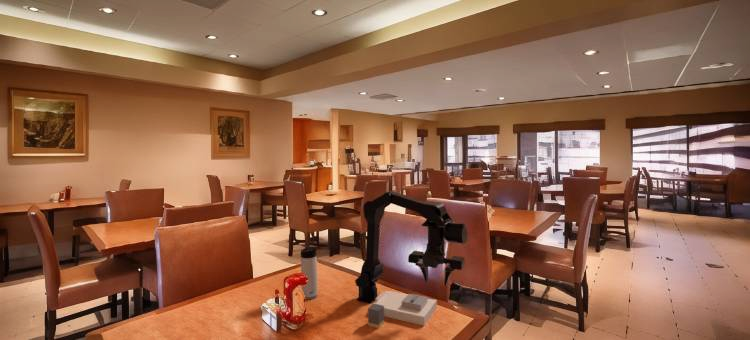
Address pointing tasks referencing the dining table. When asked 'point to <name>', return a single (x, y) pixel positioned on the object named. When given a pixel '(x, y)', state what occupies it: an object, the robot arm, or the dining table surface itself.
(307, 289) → the travel mug
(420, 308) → the block
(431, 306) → the socket
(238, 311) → the dining table surface
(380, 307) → the plug
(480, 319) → the dining table surface
